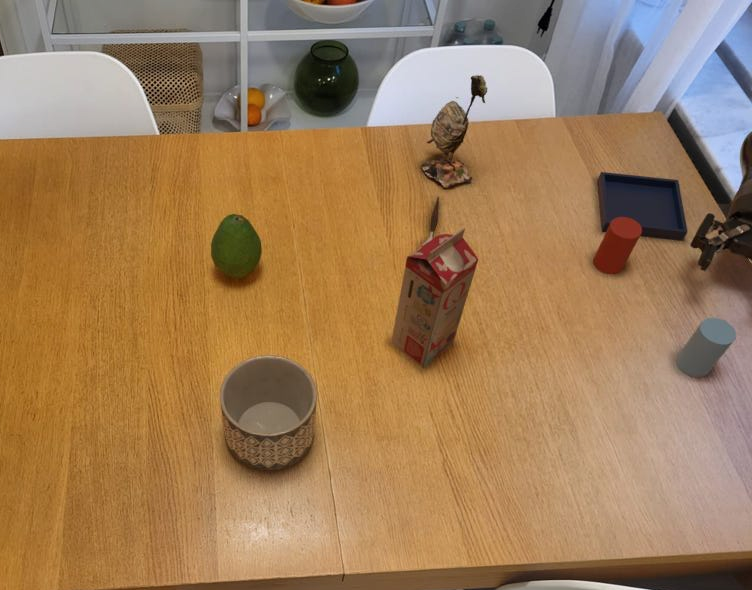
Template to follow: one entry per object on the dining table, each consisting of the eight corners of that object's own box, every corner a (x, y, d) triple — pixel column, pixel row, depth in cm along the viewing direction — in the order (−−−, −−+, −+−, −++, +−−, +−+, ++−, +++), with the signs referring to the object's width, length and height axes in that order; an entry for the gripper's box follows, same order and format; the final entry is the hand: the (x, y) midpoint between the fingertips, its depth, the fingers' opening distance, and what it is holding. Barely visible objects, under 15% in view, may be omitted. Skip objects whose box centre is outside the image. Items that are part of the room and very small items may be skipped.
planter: (211, 415, 108) (205, 374, 100) (291, 385, 111) (292, 342, 103) (245, 488, 102) (241, 449, 93) (329, 454, 104) (333, 414, 96)
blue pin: (707, 353, 113) (733, 320, 107) (712, 379, 111) (739, 346, 104) (674, 349, 114) (698, 315, 107) (677, 374, 111) (702, 341, 105)
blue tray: (673, 188, 134) (678, 179, 132) (682, 240, 127) (687, 232, 125) (597, 180, 136) (600, 171, 134) (601, 231, 128) (605, 222, 127)
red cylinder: (622, 254, 125) (640, 218, 119) (624, 275, 122) (643, 240, 116) (592, 251, 126) (609, 215, 119) (593, 272, 123) (611, 236, 116)
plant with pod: (453, 147, 142) (475, 47, 125) (475, 186, 135) (501, 87, 119) (412, 153, 141) (429, 54, 124) (432, 193, 134) (452, 94, 118)
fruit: (232, 246, 128) (228, 191, 118) (271, 265, 125) (270, 211, 115) (204, 275, 124) (197, 221, 114) (243, 296, 121) (239, 242, 111)
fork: (445, 200, 133) (447, 191, 132) (434, 264, 125) (436, 255, 123) (430, 197, 134) (432, 189, 132) (418, 261, 125) (420, 253, 123)
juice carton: (452, 344, 115) (483, 240, 97) (423, 368, 113) (449, 266, 94) (420, 319, 118) (444, 214, 100) (391, 342, 115) (410, 238, 97)
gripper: (721, 176, 117) (697, 241, 109) (820, 208, 113) (801, 278, 105) (699, 212, 123) (675, 276, 116) (792, 244, 119) (773, 312, 111)
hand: (735, 277), depth 110 cm, fingers open, 8 cm apart
